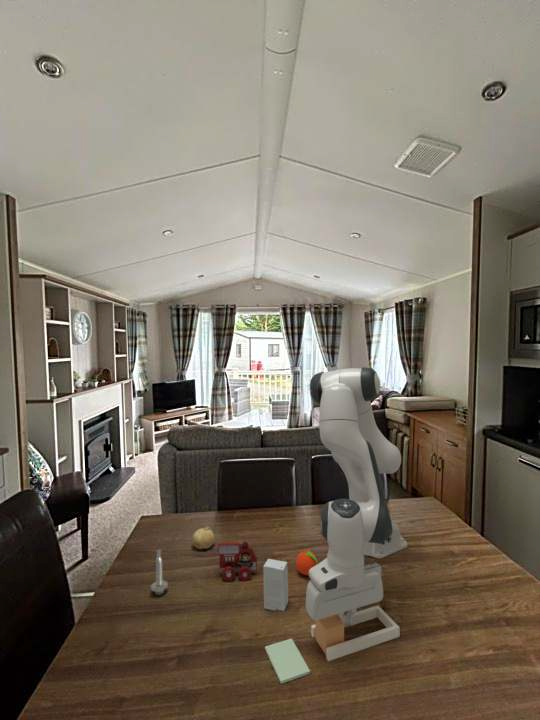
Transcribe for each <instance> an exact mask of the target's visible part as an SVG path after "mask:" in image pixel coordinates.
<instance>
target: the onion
mask: <svg viewBox="0 0 540 720" xmlns="http://www.w3.org/2000/svg"><path fill="white" fill-rule="evenodd" d="M215 537H216V536H215V533H214V532H213V530H211V528H210V527H209V526H208V524H207V525H206V527H202V528H199V529H197V530H195V532H194V533H193V535H192V537H191V538H192V539H191V541H192V544H193V546H194V547H195V548H196V549H198V550H201V551H202V550H203V549H205V550H207V549H209V548H211V547H212V546H213V545H214V543H215Z"/></svg>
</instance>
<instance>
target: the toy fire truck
mask: <svg viewBox="0 0 540 720" xmlns="http://www.w3.org/2000/svg"><path fill="white" fill-rule="evenodd" d="M217 552H218V554H219V572H221V578H222V579H223V581H226V582H231V581H234V579H235V577H236V572H238V578H239V579H240V580H241V581H243V582H245V581H246V582H247V581H249V580H250V579H251V577H252V572H255V571H257V569H258V557H257V555H256V553H255V551H254V549H253V548H252V546H249V543H248V541H245V540H244V541H243V542H242V543H241V542H239V541H238V542H236V541H235V542H233V541H231V542H219V543H218V545H217Z"/></svg>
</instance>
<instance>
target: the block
mask: <svg viewBox="0 0 540 720" xmlns="http://www.w3.org/2000/svg"><path fill="white" fill-rule="evenodd" d="M314 621H315V627H316V637H315V641H316V642H317V644H318V645H319V647H320V648H321V650H322V652H323V653H324V655H325V656H326V648H327V647H331V646H334V645H337V644H340V643H343V642H345V628H344V623H343V622H342V620H341V619H340V618H339V617H338V616H337V614H336V615H332V616H329V617H326V618H322V619H319V620H314Z"/></svg>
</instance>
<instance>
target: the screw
mask: <svg viewBox="0 0 540 720" xmlns="http://www.w3.org/2000/svg"><path fill="white" fill-rule="evenodd" d="M155 559H156V560H155V571H156V572H155V581H154V582H153V583H152V584H151V585H150V590H151V591H152V592H154V594H155V595H157V596H160V595H162V594H164V593H165V590H166V589H167V588H168V586H169V583H168V581H166V580H164V579H163V557H162V549H156V558H155Z"/></svg>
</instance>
